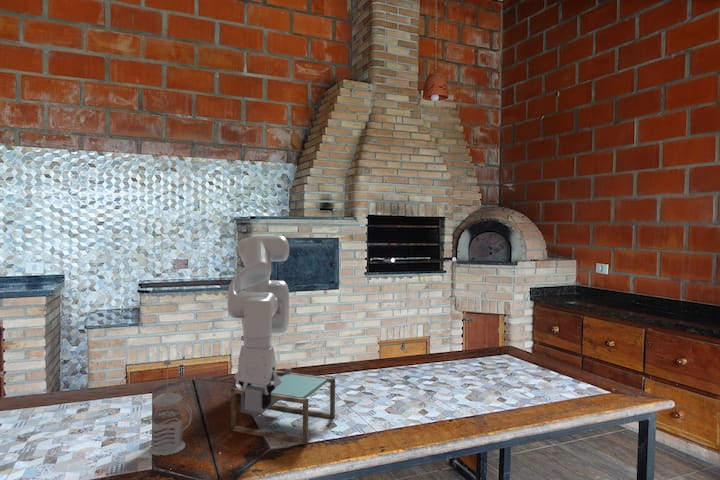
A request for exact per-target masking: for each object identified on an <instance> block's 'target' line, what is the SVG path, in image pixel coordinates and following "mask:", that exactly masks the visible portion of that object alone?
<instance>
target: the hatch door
mask: <svg viewBox="0 0 720 480" xmlns="http://www.w3.org/2000/svg"><path fill="white" fill-rule="evenodd" d="M278 377H279V378H280V380H281V382H282V383H281V384H280V385H279V386H278V387H276V388H275V389H274V390H273V391H272V392H271V393H273V394H279V395H286V396H293V397H299V398H306V399H308V397H310V396H311V395H312V394H313V393H315V392H317V390H319V389H320V388H322V387H323V386H325V384H327V383H328V382H327V379H323V378H315V377H308V376H300V375H293V374H286V375H284V376H278ZM271 384H272V385H273V384H274V381H271ZM279 401H280V400H275V399H271V404H270V406H272V405H273V404H277V403H278V402H279ZM270 406H268V407H267V408H266V409H264V410H263V411H261V412H256V411H251V410H245V401H244V395H243V394H240V413H242V414H248V415H253V416H258V415H261V413H263V412H265V411H266V410H267V409H270V408H269V407H270Z"/></svg>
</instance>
